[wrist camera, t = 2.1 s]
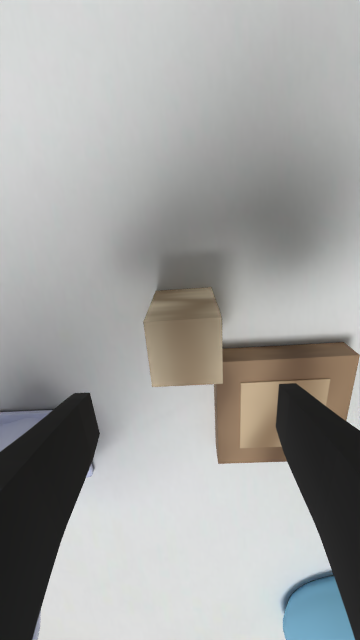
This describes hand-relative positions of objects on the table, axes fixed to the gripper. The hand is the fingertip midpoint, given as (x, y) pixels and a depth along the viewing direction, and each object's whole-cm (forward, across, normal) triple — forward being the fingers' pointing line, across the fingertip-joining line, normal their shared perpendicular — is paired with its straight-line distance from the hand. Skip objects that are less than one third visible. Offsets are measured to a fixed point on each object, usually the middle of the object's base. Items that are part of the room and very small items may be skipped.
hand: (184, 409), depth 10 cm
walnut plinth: (+10, -7, +8) cm, 15 cm away
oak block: (+10, 0, 0) cm, 10 cm away
